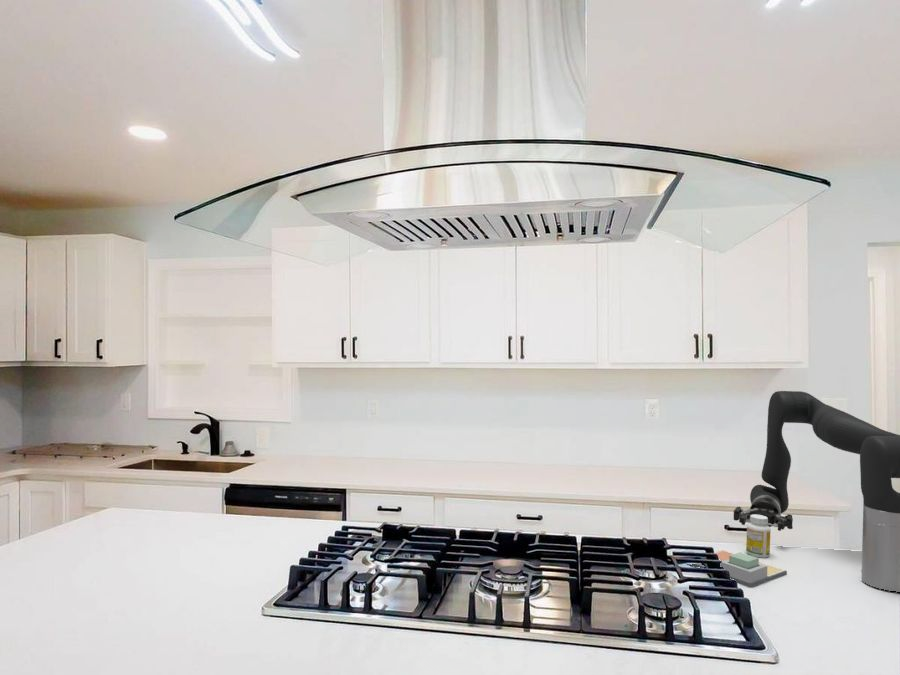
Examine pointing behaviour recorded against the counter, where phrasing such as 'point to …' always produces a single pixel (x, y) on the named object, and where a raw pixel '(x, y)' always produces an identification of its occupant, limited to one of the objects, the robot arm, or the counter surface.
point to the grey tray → (748, 571)
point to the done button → (744, 560)
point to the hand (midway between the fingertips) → (761, 523)
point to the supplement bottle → (758, 536)
